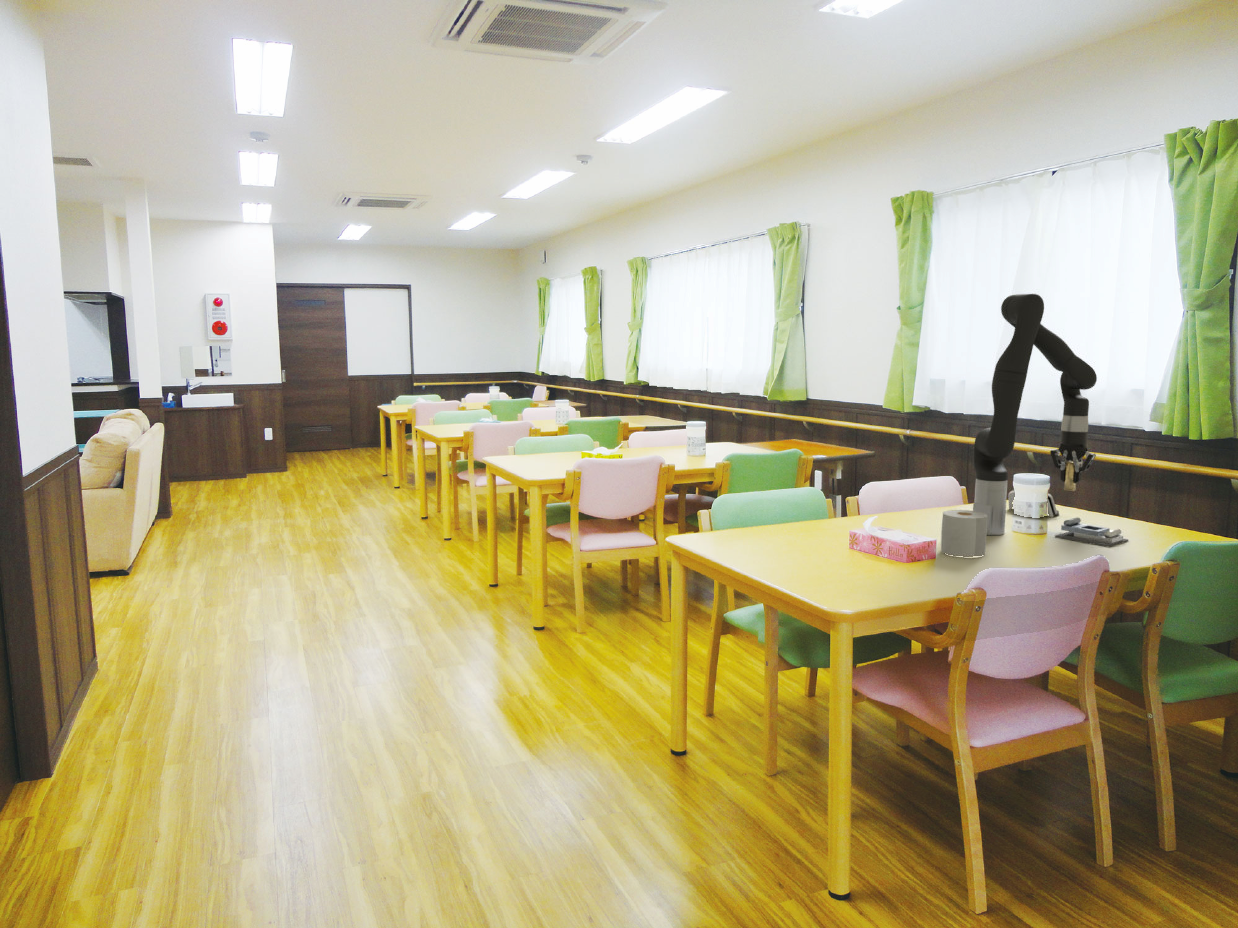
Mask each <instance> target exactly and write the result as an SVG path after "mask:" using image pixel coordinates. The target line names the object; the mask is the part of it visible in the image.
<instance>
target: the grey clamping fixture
mask: <svg viewBox="0 0 1238 928" xmlns="http://www.w3.org/2000/svg"><path fill="white" fill-rule="evenodd" d="M1081 522H1082V519H1081V518H1080V517H1079V516H1078V517H1074V518H1070V519H1065V520H1064V521H1063V524H1061V527H1060V530H1061V531H1063V532H1064V531H1066V532H1069V531H1070V532H1074V537H1077V538H1082V539H1088V540H1093V541H1099V542H1104V543H1110V544H1113V543H1116V542H1119V541H1123V539H1124V535H1122V530H1121V529H1119V528H1116V529H1113V530H1110V529H1111V528H1109V527H1103V526H1099V525H1092V524H1086V523H1085V524H1084V523H1081Z"/></svg>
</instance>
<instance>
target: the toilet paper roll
mask: <svg viewBox="0 0 1238 928" xmlns="http://www.w3.org/2000/svg"><path fill="white" fill-rule="evenodd" d="M940 535H941V536H940V541H941V542H940V545H941V546H940V549H941V550H940V552H941V551H942V552H943V553H946V554H948V555H953V556H963V557H973V556H982V555H984V556H985V554H986V548H987V547H986V545H987V536H988V535H987V515H986V514H984V513H981V512H977V511H973V510H967V509H949V510H944V511H943V512H942V519H941V534H940ZM942 552H941V553H942ZM943 553H942V554H943ZM948 555H947V556H948Z"/></svg>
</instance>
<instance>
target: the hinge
mask: <svg viewBox="0 0 1238 928" xmlns="http://www.w3.org/2000/svg"><path fill="white" fill-rule="evenodd" d="M1007 496H1008V497H1007V498H1008V509H1009V510H1011V509H1012V507H1013V504H1012V502H1013V500H1014V497H1015V491H1014V489H1012V490H1011V491H1009V493H1007ZM1048 514H1049V518H1053V517H1054V516H1060V512H1059V510H1057V508H1056V504H1055V500H1054V498H1053V495H1052V494H1050V493H1048Z"/></svg>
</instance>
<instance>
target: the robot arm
mask: <svg viewBox="0 0 1238 928" xmlns="http://www.w3.org/2000/svg"><path fill="white" fill-rule="evenodd" d="M1044 302H1045V301H1044V299H1043V297H1042V296H1040V295H1039V294H1038V293H1030V292H1029V293H1015V294H1014V293H1013V294H1010V295H1009V296H1007V297H1006V298H1004V299H1003V301H1002V303H1001V307H1000V311H1001V312H1000V313H1001V315H1002V318H1003V319H1004V320H1005V321H1006V322H1007V323H1008V324H1010V325H1011V326H1012V327H1013V328H1014V330H1013V336H1012V337H1011V340H1010V343H1009V344H1008V345H1007V347H1006V348H1005V349H1004V351H1003V352H1002V354H1001V355H1000V357H999V358H998V361H997V362H996V364H995V368H994V371H993V372H994V373H993V377H992V380H991V397H992V402H993V403H992V404H993V415H992V417H993V418H992V422H991V426H990V427H986V428H984V429H982V430H980V431H979V432H978V433H977V434H976V435H975V438H974V445H973V468H974V471H975V472H974V473H975V486H974V502H973V504H972V511H977V512H981V513H984V514H986V515H987V535H986V536H999V535H1000V536H1001V535H1004V534H1005V530H1006V529H1005V527H1006V512H1007V498H1008V497H1007V496H1008V493H1007V492H1008V479H1009V473H1008V470H1007V469H1006V467H1005V464H1004V459H1006V458H1008V457H1009V456H1010V455H1011V454H1012V452H1013V449H1014V448H1015V442H1016V433H1017V425H1018V424H1017V422H1018V417H1019V412H1020V411H1019V410H1020V409H1021V408H1020V406H1021V402H1022V398H1023V392H1024V388H1025V385H1026V380H1027V375H1028V370H1029V365H1030V360H1031V356H1032V353H1033V349H1034V346H1035V348H1036V349H1038V351H1039V352H1040V353H1041V354H1042V355H1043V357H1045V359H1046V360H1047V362H1048V363H1049V364H1050V365H1051V366H1052V368H1054V369H1055V371H1058V372H1061V375H1060V378H1059V379H1060V380H1059V384H1060V390H1061V394H1062V399H1063V413H1062V414H1063V415H1062V418H1061V430H1060V440H1059V441H1060V442H1059V443H1060V445H1059V446H1058V448H1057V449H1056V448H1055V449H1052V450H1049V451H1050V452H1049V454H1050V456H1051V459H1052V462H1053V464H1054V467H1055V468H1056V469H1059V470H1060V480H1061V482H1062V483H1065V471H1066V462H1073V463H1074V465H1075V471H1076V472H1074V483H1075V484H1076V485H1078V484H1079V483H1080V482H1082V481H1081V480H1082V473H1083V472H1085V471H1088V470H1089V469H1090V467H1091V465H1092V464H1093V462H1094V460H1095V459H1096V457H1097V456H1096V453H1092V452H1090V451H1088V448H1087V443H1088V434H1089V433H1088V432H1089V409H1090V401H1089V398H1087V397H1085V396H1082V393H1081V390H1084V391H1085V390H1086V391H1087V390H1089V389H1092V388H1093V387H1095V385H1096V383H1097V380H1098V377H1097V374H1096V371H1095V369H1094V368H1093V367H1092V366H1091V365H1089V364H1088V362H1086V361H1085V360H1083V359H1082V358H1081V357H1079V356H1077V355H1076V354H1075V353H1074V351H1073V350H1072V349H1071V347H1070V346H1069V345H1068V343H1066V342H1065V341H1064V340H1063V339H1062V338H1061V337H1060V336H1059V335H1057V334H1055V333H1054V332H1053V331H1051V330H1050V329H1049V328H1047V327H1045V326H1044V325H1043V324H1042V320H1043V317H1044V316H1043V315H1044V312H1045V303H1044ZM1060 455H1061V457H1062V459H1061V457H1060ZM1084 457H1085V461H1084V462H1083V458H1084Z"/></svg>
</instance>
